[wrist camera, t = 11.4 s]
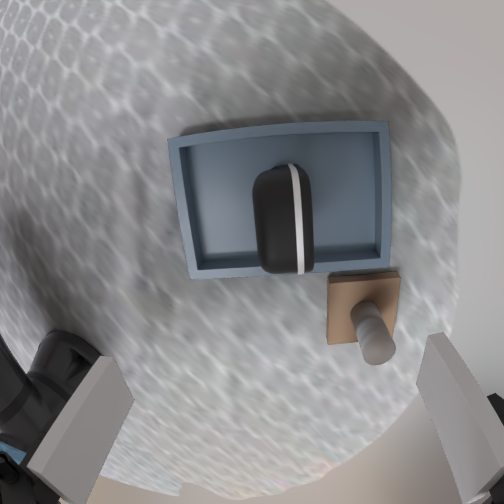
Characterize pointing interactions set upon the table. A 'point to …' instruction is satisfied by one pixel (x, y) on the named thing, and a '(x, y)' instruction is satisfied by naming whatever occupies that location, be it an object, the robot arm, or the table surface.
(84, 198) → the table surface
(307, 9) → the table surface
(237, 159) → the parts tray
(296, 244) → the battery charger
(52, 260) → the table surface
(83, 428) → the robot arm
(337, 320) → the wooden base with post
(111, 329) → the table surface
